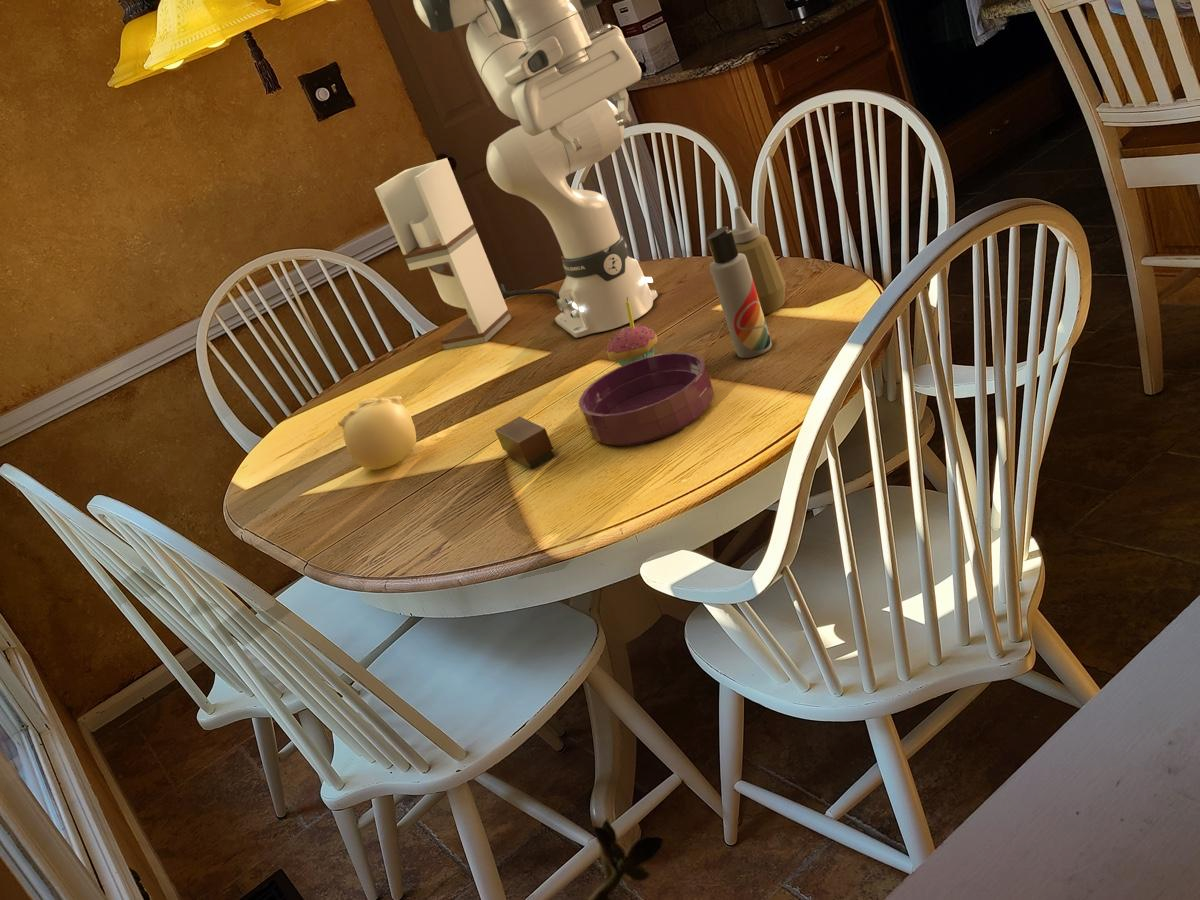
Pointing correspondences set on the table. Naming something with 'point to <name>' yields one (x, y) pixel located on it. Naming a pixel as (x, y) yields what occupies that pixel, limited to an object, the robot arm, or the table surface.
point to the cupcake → (631, 342)
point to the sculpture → (379, 432)
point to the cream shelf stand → (445, 247)
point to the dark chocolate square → (525, 442)
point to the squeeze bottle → (759, 262)
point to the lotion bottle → (738, 295)
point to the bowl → (647, 399)
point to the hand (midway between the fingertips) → (601, 137)
